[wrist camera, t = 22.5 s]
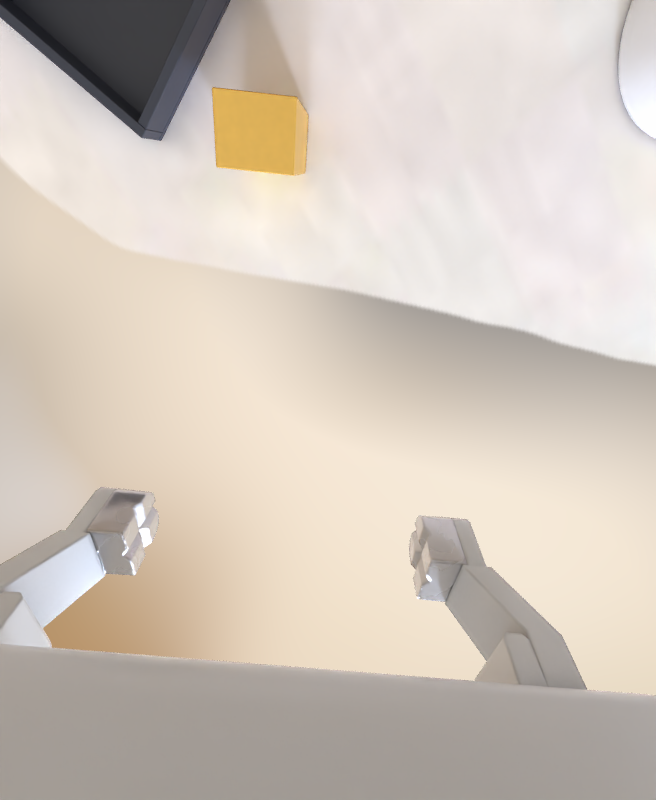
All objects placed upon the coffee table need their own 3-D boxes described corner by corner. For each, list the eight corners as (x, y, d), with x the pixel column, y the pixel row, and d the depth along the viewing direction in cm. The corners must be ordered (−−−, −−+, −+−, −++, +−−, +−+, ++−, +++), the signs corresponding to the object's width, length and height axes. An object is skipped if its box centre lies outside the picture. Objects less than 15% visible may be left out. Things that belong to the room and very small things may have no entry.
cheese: (308, 114, 30) (297, 96, 22) (305, 173, 32) (294, 175, 24) (245, 107, 30) (211, 87, 22) (246, 167, 32) (216, 167, 24)
